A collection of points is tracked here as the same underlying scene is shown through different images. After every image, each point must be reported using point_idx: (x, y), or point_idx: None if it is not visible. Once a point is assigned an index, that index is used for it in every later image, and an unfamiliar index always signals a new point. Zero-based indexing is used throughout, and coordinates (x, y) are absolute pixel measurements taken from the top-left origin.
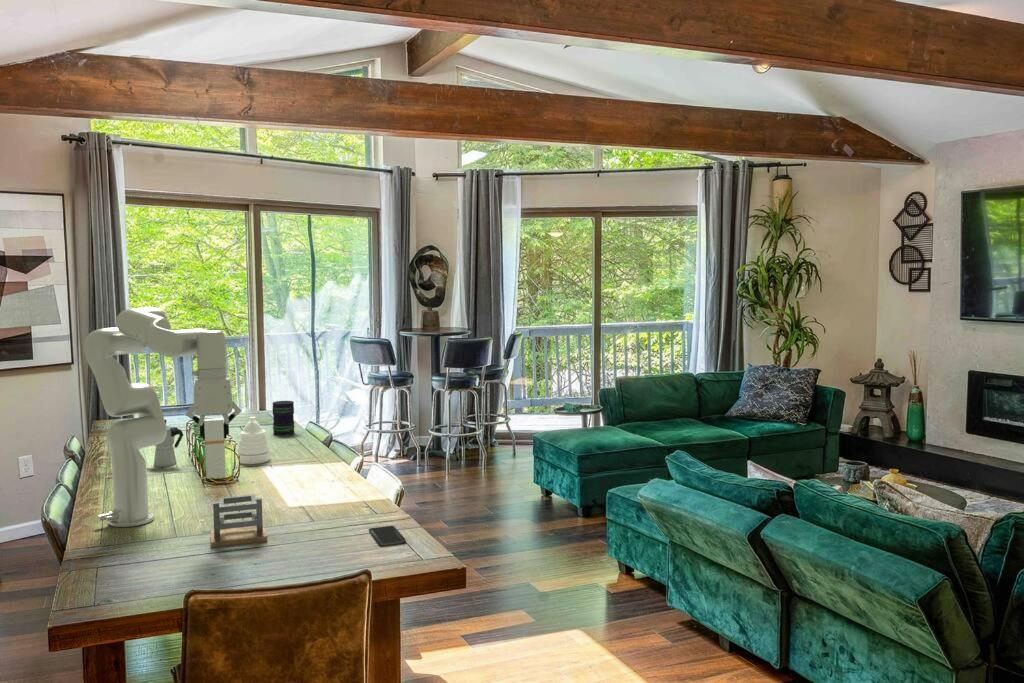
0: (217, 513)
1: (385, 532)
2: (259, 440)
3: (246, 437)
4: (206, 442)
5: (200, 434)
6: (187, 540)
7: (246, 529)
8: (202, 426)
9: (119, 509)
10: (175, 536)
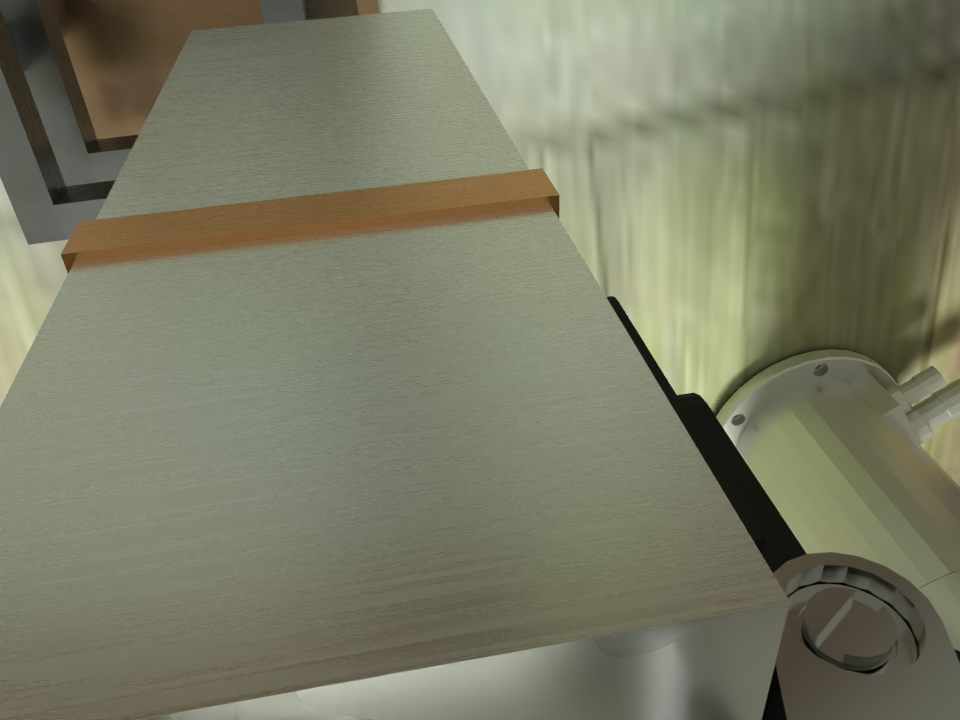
0: (322, 1)
1: None
2: None
3: None
4: (512, 187)
5: (700, 412)
6: (525, 49)
7: (146, 88)
8: (749, 532)
9: (899, 426)
10: (598, 148)
